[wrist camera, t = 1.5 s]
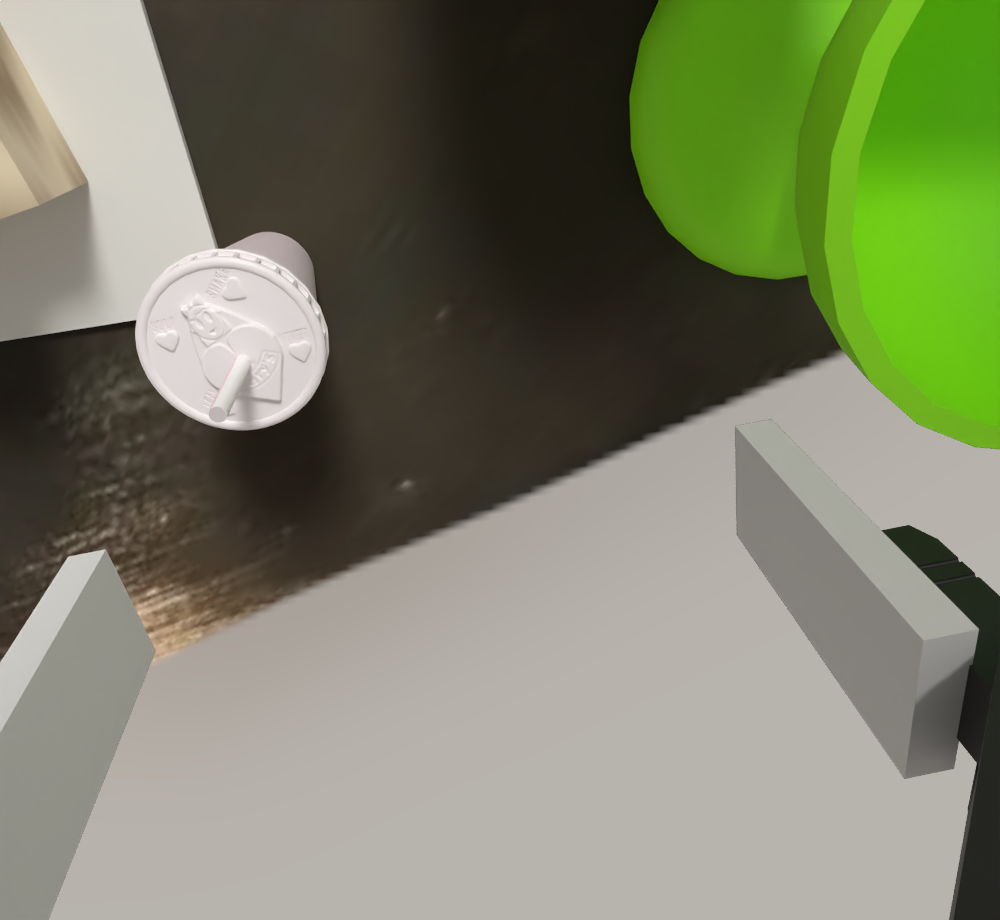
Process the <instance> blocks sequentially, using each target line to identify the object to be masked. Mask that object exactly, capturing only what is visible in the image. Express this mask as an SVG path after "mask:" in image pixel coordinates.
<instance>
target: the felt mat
mask: <svg viewBox="0 0 1000 920" xmlns="http://www.w3.org/2000/svg"><path fill="white" fill-rule="evenodd" d="M0 23H1V25H2V27H3V29H4V30H5V32H6V34H7V36H8V38H9V39H10V41H11V43H12V45H13V47H14V48H15V50H16V52H17V54H18V56H19V57H20V59H21V61H22V63H23V65H24V67H25V68H26V70H27V72H28V74H29V76H30V77H31V79H32V81H33V83H34V85H35V86H36V88H37V90H38V92H39V94H40V95H41V97H42V99H43V101H44V103H45V104H46V106H47V108H48V110H49V112H50V113H51V115H52V117H53V119H54V121H55V122H56V124H57V126H58V128H59V130H60V131H61V133H62V135H63V137H64V139H65V140H66V142H67V144H68V146H69V148H70V150H71V151H72V153H73V155H74V157H75V159H76V160H77V162H78V164H79V166H80V168H81V169H82V171H83V173H84V175H85V177H86V178H87V180H88V183H85V184H83V185H81V186H79V187H77V188H75V189H73V190H71V191H68V192H66V193H64V194H62V195H60V196H58V197H56V198H54V199H51V200H49V201H47V202H45V203H43V204H41V205H39V206H36V207H33V208H30V209H27V210H25V211H22V212H19V213H16V214H13V215H11V216H8V217H5V218H2V219H0V341H6V340H13V339H19V338H25V337H32V336H38V335H44V334H51V333H57V332H63V331H70V330H76V329H82V328H89V327H95V326H101V325H108V324H114V323H120V322H127V321H133V320H137V316H138V312H139V309H140V306H141V304H142V301H143V300H144V298H145V296H146V294H147V293H148V291H149V290H150V287H151V285H152V284H153V282H154V281H155V280H156V279H157V278H158V277H159V276H160V275H161V274H162V273H163V271H164V270H165V269H166V268H167V267H168V266H170V265H172V264H174V263H175V262H177V261H179V260H180V259H182V258H184V257H186V256H187V255H190V254H194V253H198V252H202V251H206V250H210V249H218V246H217V243H216V239H215V236H214V233H213V230H212V226H211V223H210V220H209V216H208V213H207V210H206V207H205V203H204V200H203V197H202V193H201V190H200V187H199V183H198V180H197V177H196V174H195V170H194V167H193V164H192V160H191V157H190V154H189V151H188V147H187V144H186V141H185V137H184V134H183V131H182V127H181V124H180V121H179V118H178V114H177V111H176V108H175V104H174V101H173V98H172V95H171V91H170V88H169V85H168V81H167V78H166V75H165V72H164V68H163V65H162V62H161V58H160V55H159V52H158V48H157V45H156V42H155V39H154V35H153V32H152V29H151V25H150V22H149V19H148V16H147V12H146V9H145V6H144V2H143V0H0Z"/></svg>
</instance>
